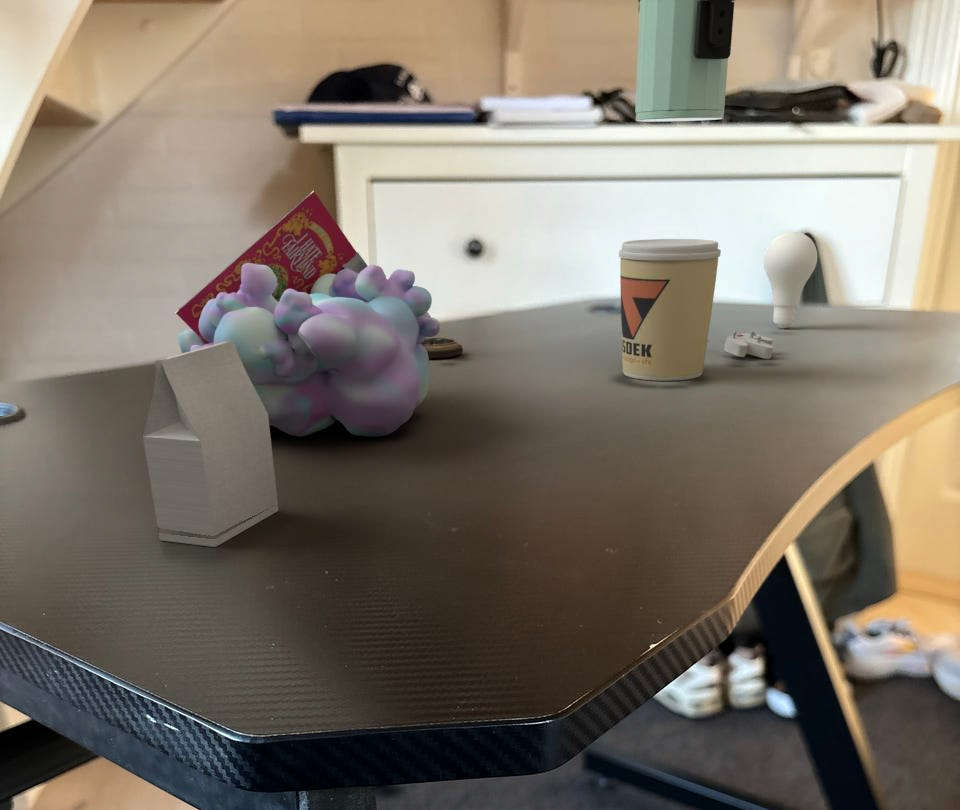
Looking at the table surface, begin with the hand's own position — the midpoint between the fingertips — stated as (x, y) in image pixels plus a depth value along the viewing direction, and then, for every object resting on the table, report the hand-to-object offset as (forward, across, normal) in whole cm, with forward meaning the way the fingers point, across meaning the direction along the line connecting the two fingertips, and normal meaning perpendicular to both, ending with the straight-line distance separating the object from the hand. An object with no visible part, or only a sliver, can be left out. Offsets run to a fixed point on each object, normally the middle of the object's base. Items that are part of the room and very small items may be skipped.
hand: (682, 62), depth 86 cm
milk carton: (+27, -27, +47) cm, 61 cm away
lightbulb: (+27, +19, -29) cm, 43 cm away
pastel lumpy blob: (+27, -4, +36) cm, 45 cm away
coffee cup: (+27, +1, 0) cm, 27 cm away
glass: (+4, 0, 0) cm, 4 cm away
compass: (+27, +23, +16) cm, 39 cm away
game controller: (+27, +8, -13) cm, 31 cm away
